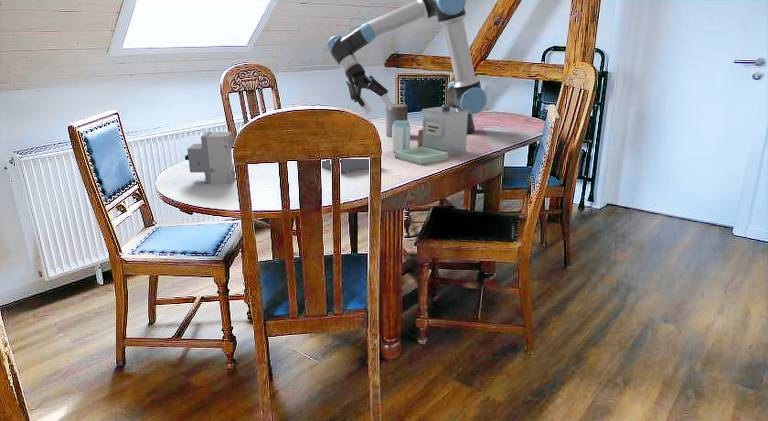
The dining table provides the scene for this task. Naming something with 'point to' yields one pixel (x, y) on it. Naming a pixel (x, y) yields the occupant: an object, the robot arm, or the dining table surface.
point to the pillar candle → (395, 116)
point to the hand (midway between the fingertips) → (380, 110)
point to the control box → (445, 129)
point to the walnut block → (420, 138)
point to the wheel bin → (348, 164)
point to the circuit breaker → (213, 157)
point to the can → (400, 135)
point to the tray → (421, 155)
